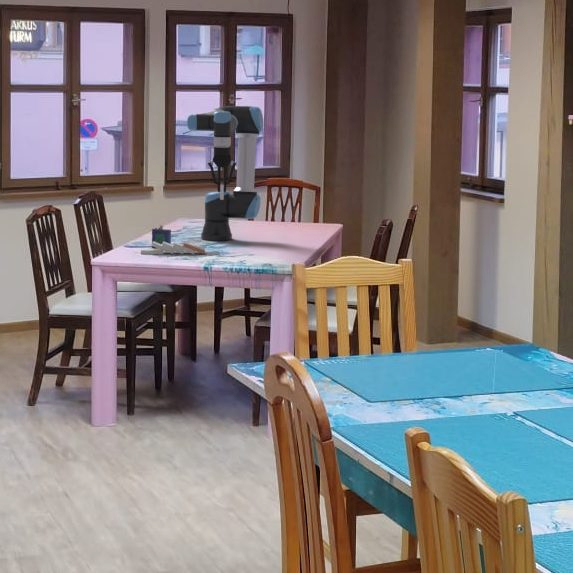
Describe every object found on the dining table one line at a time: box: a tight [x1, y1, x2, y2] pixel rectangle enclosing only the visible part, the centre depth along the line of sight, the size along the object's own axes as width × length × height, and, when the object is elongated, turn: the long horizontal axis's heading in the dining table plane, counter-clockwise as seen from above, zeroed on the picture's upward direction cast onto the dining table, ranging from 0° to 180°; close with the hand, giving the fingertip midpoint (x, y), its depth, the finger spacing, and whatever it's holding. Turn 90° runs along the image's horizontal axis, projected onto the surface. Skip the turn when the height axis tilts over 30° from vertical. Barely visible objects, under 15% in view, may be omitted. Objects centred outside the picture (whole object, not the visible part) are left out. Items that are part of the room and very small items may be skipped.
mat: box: [152, 251, 221, 256], centre depth 532 cm, size 30×10×1 cm, turn 96°
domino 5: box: [182, 241, 206, 254], centre depth 532 cm, size 2×5×10 cm
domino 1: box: [140, 248, 165, 255], centre depth 530 cm, size 2×5×10 cm
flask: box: [151, 225, 172, 249], centre depth 546 cm, size 9×3×11 cm, turn 74°
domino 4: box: [172, 241, 196, 254], centre depth 531 cm, size 2×5×10 cm
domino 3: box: [162, 241, 185, 254], centre depth 531 cm, size 2×5×10 cm
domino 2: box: [151, 241, 175, 254], centre depth 530 cm, size 2×5×10 cm
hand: (221, 199), depth 534 cm, fingers closed
